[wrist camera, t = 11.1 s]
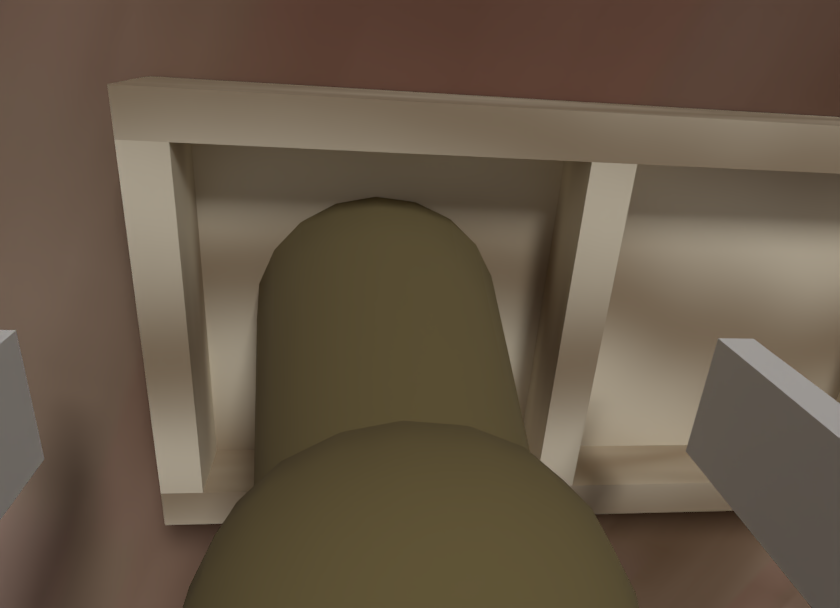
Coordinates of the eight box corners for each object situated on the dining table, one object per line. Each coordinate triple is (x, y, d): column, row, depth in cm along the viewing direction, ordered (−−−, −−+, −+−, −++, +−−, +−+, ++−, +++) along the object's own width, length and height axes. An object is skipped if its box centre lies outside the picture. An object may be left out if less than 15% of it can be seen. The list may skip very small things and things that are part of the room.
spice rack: (148, 76, 14) (60, 92, 9) (1251, 141, 17) (1536, 175, 13) (190, 475, 18) (142, 607, 14) (1062, 461, 21) (1232, 562, 17)
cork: (530, 237, 15) (885, 630, 5) (449, 433, 17) (587, 986, 7) (289, 163, 14) (125, 501, 4) (233, 387, 16) (36, 981, 6)
